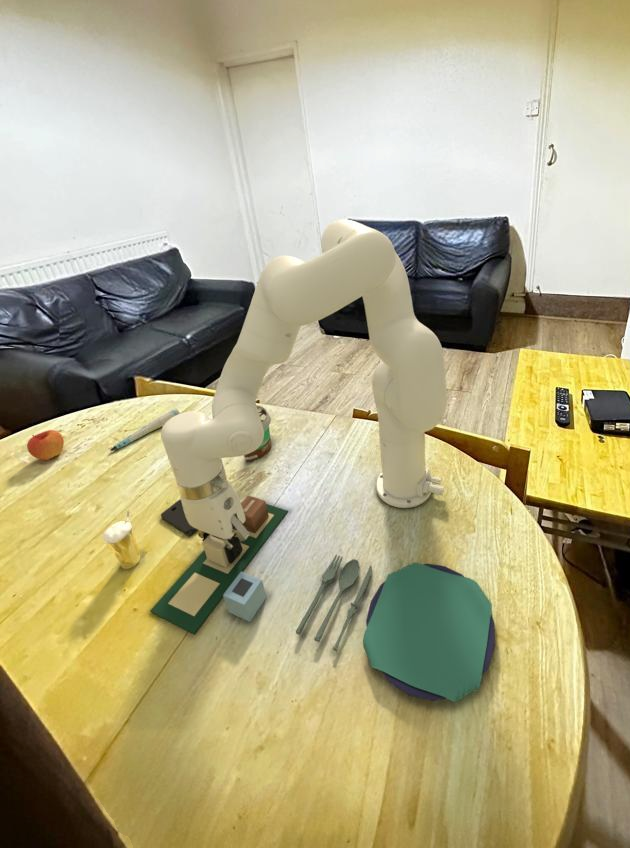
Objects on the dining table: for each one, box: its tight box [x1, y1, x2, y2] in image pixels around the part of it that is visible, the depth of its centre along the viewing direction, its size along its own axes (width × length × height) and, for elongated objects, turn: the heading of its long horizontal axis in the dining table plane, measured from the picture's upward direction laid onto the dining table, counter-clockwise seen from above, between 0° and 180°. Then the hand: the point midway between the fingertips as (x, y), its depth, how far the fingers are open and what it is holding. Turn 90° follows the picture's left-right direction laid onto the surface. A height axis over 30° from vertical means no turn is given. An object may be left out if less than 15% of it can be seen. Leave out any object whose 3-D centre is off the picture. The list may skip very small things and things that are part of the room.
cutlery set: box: [295, 554, 496, 703], centre depth 66 cm, size 20×30×2 cm, turn 69°
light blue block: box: [223, 571, 268, 623], centre depth 69 cm, size 4×4×5 cm
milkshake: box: [102, 510, 142, 570], centre depth 77 cm, size 5×5×10 cm
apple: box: [26, 429, 65, 461], centre depth 108 cm, size 7×7×8 cm
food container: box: [243, 404, 272, 463], centre depth 105 cm, size 12×6×10 cm, turn 179°
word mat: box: [149, 503, 289, 635], centre depth 79 cm, size 10×26×1 cm, turn 157°
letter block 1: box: [201, 533, 242, 567], centre depth 77 cm, size 4×4×5 cm
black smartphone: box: [160, 499, 198, 537], centre depth 88 cm, size 5×1×10 cm
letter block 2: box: [240, 494, 269, 533], centre depth 84 cm, size 4×4×5 cm
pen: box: [109, 408, 181, 452], centre depth 115 cm, size 19×3×3 cm, turn 145°
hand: (224, 551), depth 78 cm, fingers closed on letter block 1, 4 cm apart
